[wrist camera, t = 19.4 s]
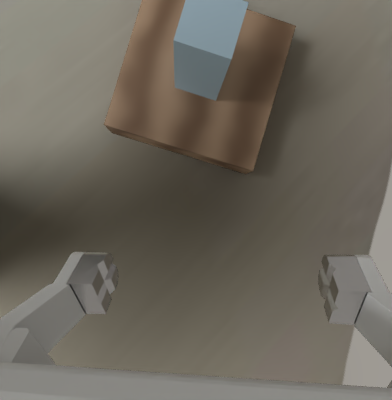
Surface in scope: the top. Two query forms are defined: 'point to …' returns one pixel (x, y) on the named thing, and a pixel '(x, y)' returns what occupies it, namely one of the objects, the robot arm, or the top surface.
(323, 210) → the top surface
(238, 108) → the walnut base
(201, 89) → the slate block
